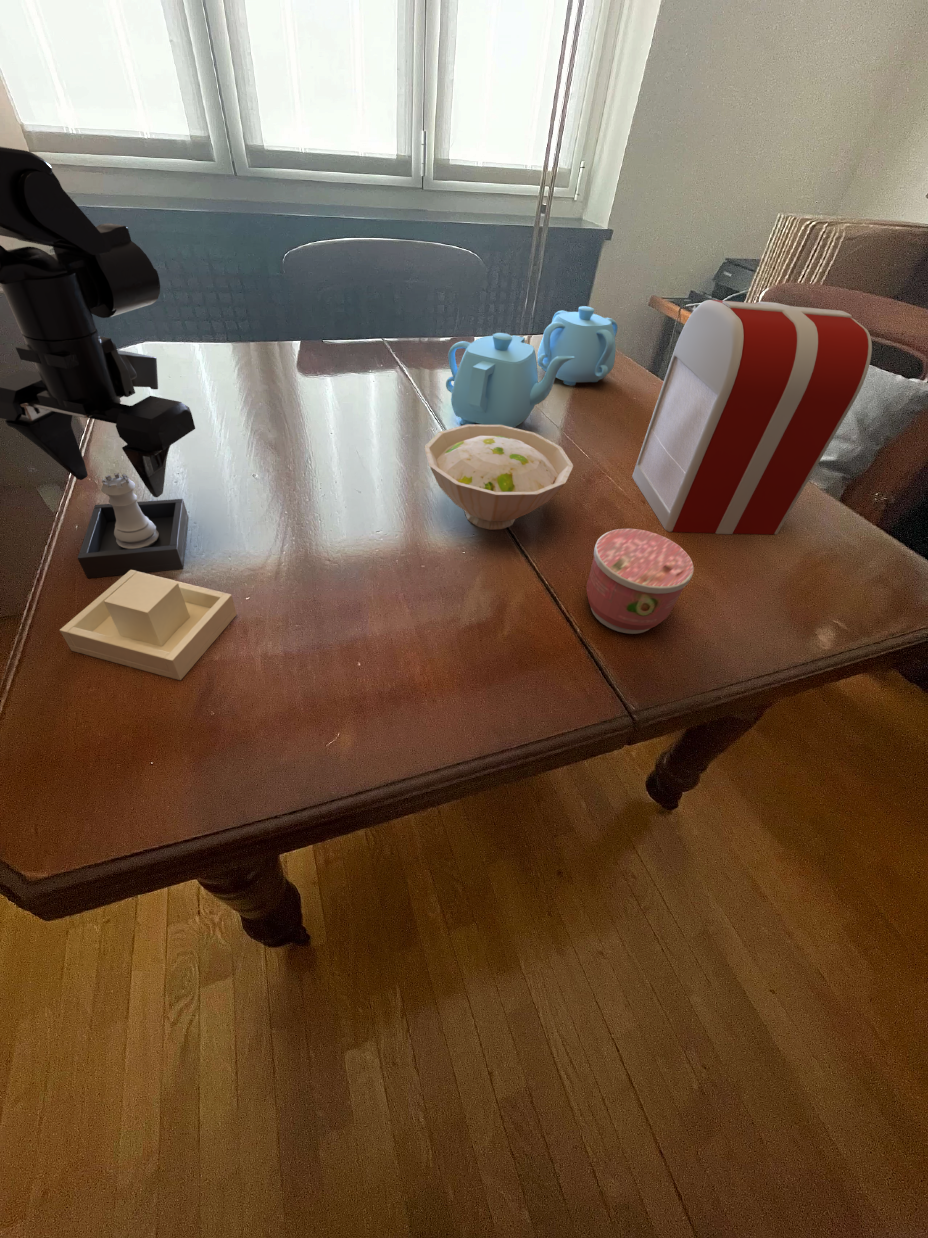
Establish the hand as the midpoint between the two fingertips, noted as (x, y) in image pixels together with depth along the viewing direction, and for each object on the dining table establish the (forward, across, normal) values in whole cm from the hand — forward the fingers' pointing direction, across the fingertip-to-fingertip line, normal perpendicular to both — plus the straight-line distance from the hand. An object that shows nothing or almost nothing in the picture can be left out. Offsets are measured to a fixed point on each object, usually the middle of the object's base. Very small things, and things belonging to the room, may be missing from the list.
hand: (120, 486), depth 59 cm
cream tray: (+8, -10, +12) cm, 18 cm away
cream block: (+7, -10, +12) cm, 17 cm away
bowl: (+8, -38, -22) cm, 44 cm away
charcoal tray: (+8, 0, 0) cm, 8 cm away
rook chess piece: (+7, 0, 0) cm, 7 cm away
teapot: (+8, -33, -53) cm, 63 cm away
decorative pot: (+8, -43, -84) cm, 95 cm away
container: (+8, -56, -8) cm, 58 cm away
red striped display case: (+8, -68, -38) cm, 78 cm away
